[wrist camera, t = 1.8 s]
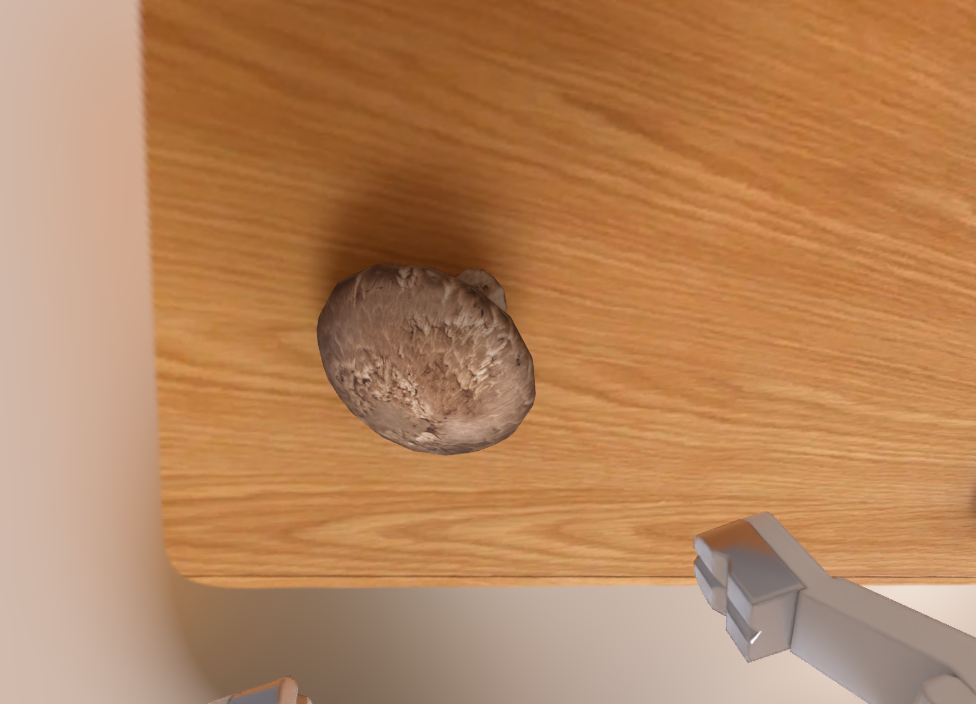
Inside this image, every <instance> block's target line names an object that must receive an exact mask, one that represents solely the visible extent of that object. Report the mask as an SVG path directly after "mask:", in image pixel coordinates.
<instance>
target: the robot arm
mask: <svg viewBox="0 0 976 704" xmlns="http://www.w3.org/2000/svg"><path fill="white" fill-rule="evenodd" d="M694 549H695V550H696V552H697V553H698V554H699V555H698V556H697V558H696V559H695V561H694V572H695V576H696V579H697V582H698V585H699V587H700V589H701V591H702V593H703V595H704V597H705V598H706V600H707V602H708V603H709V605H710V606H711V608H712V609H713V610H715V611H717V612H719V613H721V614H723V615H724V616H726V631H727V632H728V634H729V635H730V637H731V638H732V640H733V641H734V642H735V644H736V645H737V647H738V648H739V650H740V652H741V653H742V655H743V656H744V658H745V659H746V661H747V662H748V663H749V662H752V661H755V660H758V659H761V658H764V657H767V656H770V655H773V654H776V653H779V652H782V651H785V650H788V649H790V652H792V653H793V654H795V655H796V656H798V657H799V658H801V659H802V660H804V661H805V662H807V663H808V664H810V665H811V666H813V667H814V668H816V669H817V670H819V671H820V672H822V673H823V674H825V675H826V676H828V677H829V678H831V679H832V680H834V681H835V682H837V683H838V684H840V685H841V686H843V687H844V688H846V689H847V690H849V691H850V692H852V693H853V694H855V695H857V696H858V697H859V698H861V699H862V700H864V701H865V702H867V703H869V704H976V638H975V637H973V636H971V635H969V634H966V633H964V632H962V631H960V630H958V629H955V628H953V627H951V626H949V625H947V624H944V623H942V622H940V621H938V620H936V619H933V618H931V617H929V616H927V615H924V614H922V613H920V612H918V611H916V610H913V609H911V608H909V607H907V606H904V605H902V604H900V603H898V602H896V601H893V600H891V599H889V598H887V597H884V596H882V595H880V594H878V593H875V592H873V591H871V590H869V589H867V588H865V587H862V586H860V585H858V584H856V583H854V582H851V581H849V580H847V579H845V578H842V577H837V578H834V579H833V578H832V577H831V576H830V575H829V574H828V573H827V572H826V571H825V570H824V569H823V568H822V567H821V566H820V564H819V563H818V562H817V561H816V560H815V559H814V558H813V557H812V556H811V555H810V554H809V553H808V552H807V551H806V550H805V549H804V547H803V546H802V545H801V544H800V543H799V542H798V541H797V540H796V539H795V538H794V537H793V536H792V535H791V534H790V533H789V532H788V530H787V529H786V528H785V527H784V526H783V525H782V524H781V523H780V522H779V521H778V520H777V519H776V518H775V517H774V516H773V515H772V514H770V513H768V512H760V513H758V514H755V515H752V516H749V517H747V518H744V519H741V520H740V519H739V520H736V521H733V522H731V523H728V524H725V525H723V526H720V527H717V528H714V529H712V530H709V531H706V532H703V533H701V534H698V535H696V536H695V538H694ZM297 688H298V684H297V683H296V682H295V681H294V679H293V678H292V677H291V676H287V677H285V678H282V679H279V680H276V681H273V682H270V683H267V684H264V685H261V686H258V687H255V688H252V689H249V690H246V691H243V692H240V693H237V694H233V695H230V696H227V697H224V698H221V699H218V700H216V701H213V702H210V703H208V704H312V702H311V701H310V700H309V698H308V697H307V696H303V695H300V694H297Z"/></svg>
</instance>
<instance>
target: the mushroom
mask: <svg viewBox="0 0 976 704" xmlns="http://www.w3.org/2000/svg"><path fill="white" fill-rule="evenodd" d="M506 308H507V305H506V300H505V295H504V289H503V288H502V287H501V285H500V284H499V283H498V282H497V281H496V279H495V278H494V277H493V276H491V275H490V274H488V273H487V272H486V271H484V270H482V269H472V268H468V269H467V270H465V271H463V272H462V273H460V274H459V275H457V276H456V278H454V277H452V276H450V275H447V274H445V273H443V272H440V271H438V270H436V269H433V268H431V267H427V266H411V265H396V264H376V265H373V266H371V267H369V268H367V269H365V270H362V271H360V272H358V273H356V274H353V275H351V276H349V277H347V278H345V279H343V280H342V281H340V282H339V283H337V285H336V287H335V288H334V290H333V291H332V293H331V295H330V297H329V299H328V300H327V302H326V304H325V306H324V308H323V310H322V312H321V314H320V316H319V319H318V325H317V339H318V346H319V350H320V354H321V358H322V362H323V366H324V369H325V372H326V375H327V377H328V380H329V381H330V383H331V384H332V386H333V388H334V389H335V391H336V393H337V394H338V396H339V397H340V398H341V400H342V401H343V402H344V403H345V405H346V406H347V407H348V408H349V410H350V411H351V412H352V413H353V414H354V415H355V416H357V417H358V418H359V419H360V420H361V421H363V422H364V423H365V424H366V425H367V426H369V427H370V428H371V429H372V430H374V431H375V432H376V433H378V434H379V435H380V436H382V437H383V438H385V439H388V440H390V441H392V442H395V443H397V444H399V445H401V446H404V447H406V448H408V449H411V450H413V451H418V452H425V453H432V454H439V455H454V454H463V453H470V452H475V451H479V450H481V449H484V448H487V447H489V446H492V445H494V444H497V443H499V442H501V441H502V440H504V439H506V438H508V437H509V436H510V435H511V434H513V433H514V432H515V430H516V429H517V428H518V426H519V425H520V423H521V422H522V420H523V419H524V418H525V416H526V415H527V413H528V412H529V410H530V409H531V408H532V406H533V403H534V399H535V395H536V393H535V379H534V366H533V360H532V356H531V354H530V352H529V350H528V349H527V347H526V345H525V343H524V341H523V339H522V337H521V335H520V334H519V332H518V330H517V328H516V326H515V324H514V322H513V320H512V318H511V317H510V316H509V315H508V314H507V313H506Z"/></svg>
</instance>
